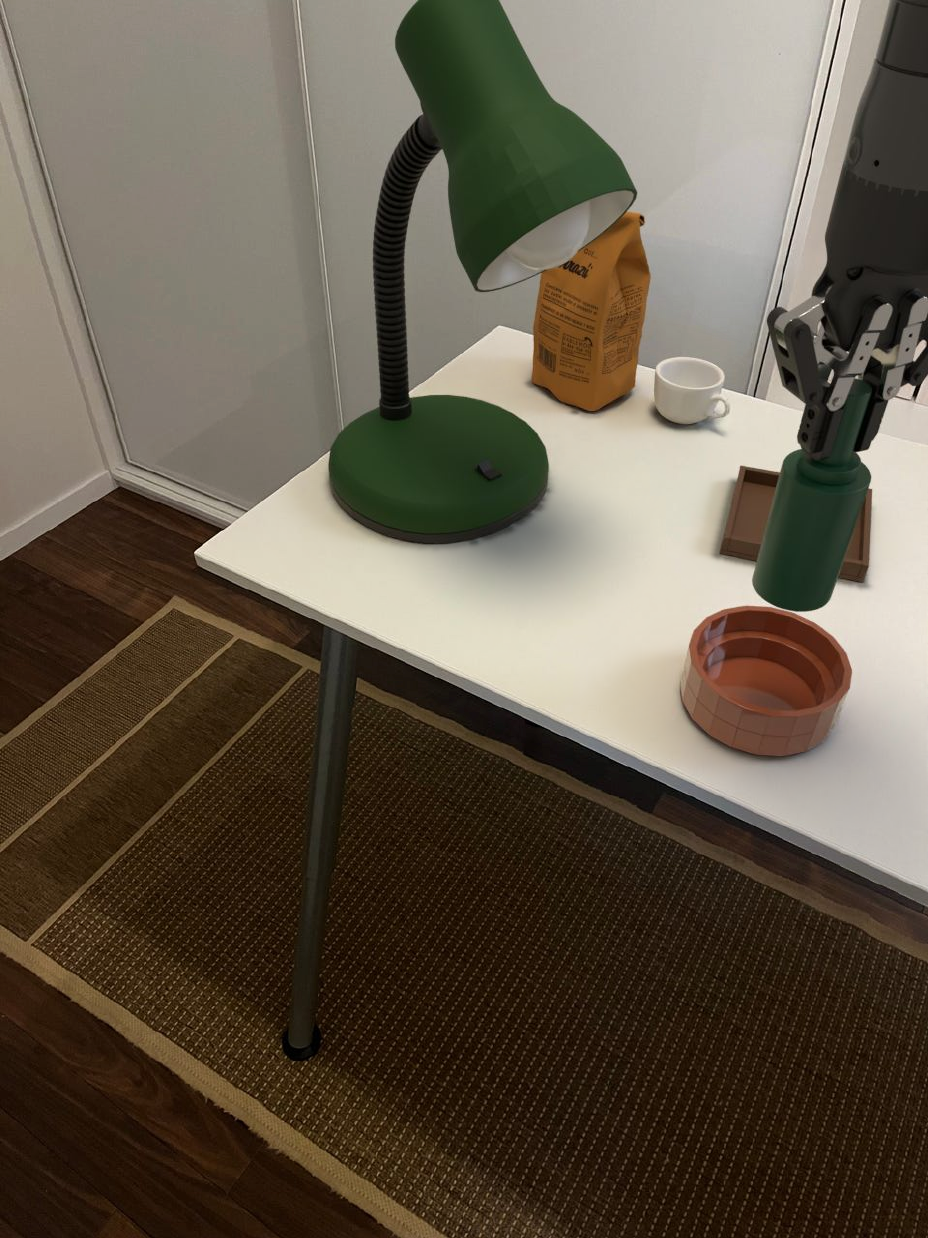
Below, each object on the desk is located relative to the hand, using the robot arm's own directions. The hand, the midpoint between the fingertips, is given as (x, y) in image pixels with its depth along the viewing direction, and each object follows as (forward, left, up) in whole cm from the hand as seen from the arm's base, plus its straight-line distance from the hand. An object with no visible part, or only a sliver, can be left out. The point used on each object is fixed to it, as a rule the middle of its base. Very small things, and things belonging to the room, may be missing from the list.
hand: (833, 448), depth 60 cm
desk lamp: (+37, -7, -24) cm, 45 cm away
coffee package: (+41, -34, -24) cm, 58 cm away
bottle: (0, 0, -12) cm, 12 cm away
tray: (+8, -24, -24) cm, 35 cm away
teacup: (+27, -36, -24) cm, 51 cm away
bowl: (0, 0, -24) cm, 24 cm away
